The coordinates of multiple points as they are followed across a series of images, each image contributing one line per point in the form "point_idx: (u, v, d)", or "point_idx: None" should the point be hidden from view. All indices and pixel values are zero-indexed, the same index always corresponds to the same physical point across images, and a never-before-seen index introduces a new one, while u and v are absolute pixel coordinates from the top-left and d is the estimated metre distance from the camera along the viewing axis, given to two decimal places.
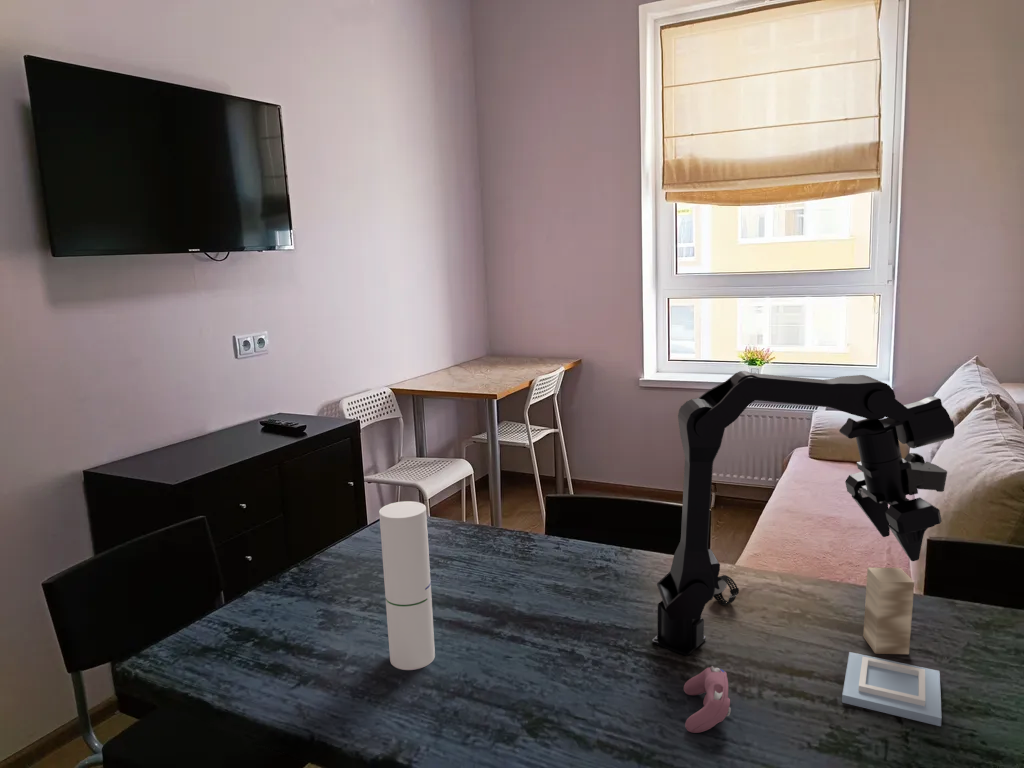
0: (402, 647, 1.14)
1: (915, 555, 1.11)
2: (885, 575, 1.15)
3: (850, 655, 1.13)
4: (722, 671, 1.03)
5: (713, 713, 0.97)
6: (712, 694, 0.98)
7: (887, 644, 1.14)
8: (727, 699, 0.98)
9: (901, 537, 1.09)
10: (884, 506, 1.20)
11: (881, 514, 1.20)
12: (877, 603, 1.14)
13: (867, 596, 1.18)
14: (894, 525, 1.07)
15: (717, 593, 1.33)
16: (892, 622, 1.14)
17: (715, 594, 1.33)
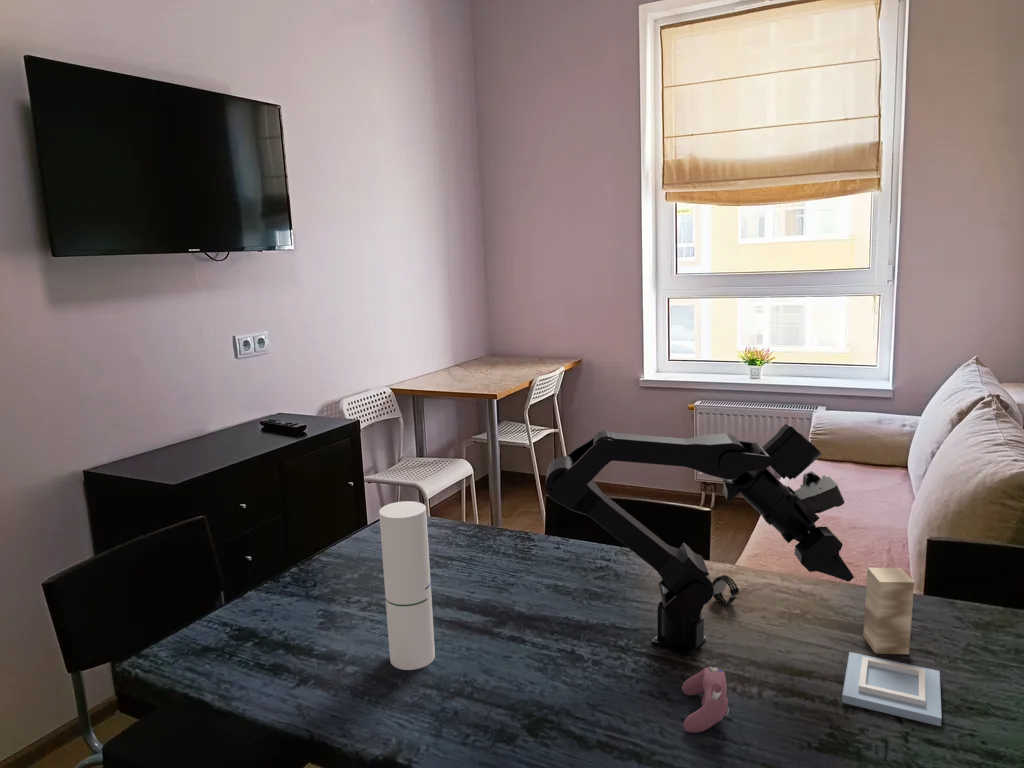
0: (402, 647, 1.14)
1: (848, 575, 1.10)
2: (885, 575, 1.15)
3: (850, 655, 1.13)
4: (720, 671, 1.03)
5: (711, 713, 0.97)
6: (710, 694, 0.98)
7: (887, 644, 1.14)
8: (725, 699, 0.98)
9: (821, 569, 1.09)
10: None
11: None
12: (877, 603, 1.14)
13: (867, 596, 1.18)
14: None
15: (717, 593, 1.33)
16: (892, 622, 1.14)
17: (715, 594, 1.33)
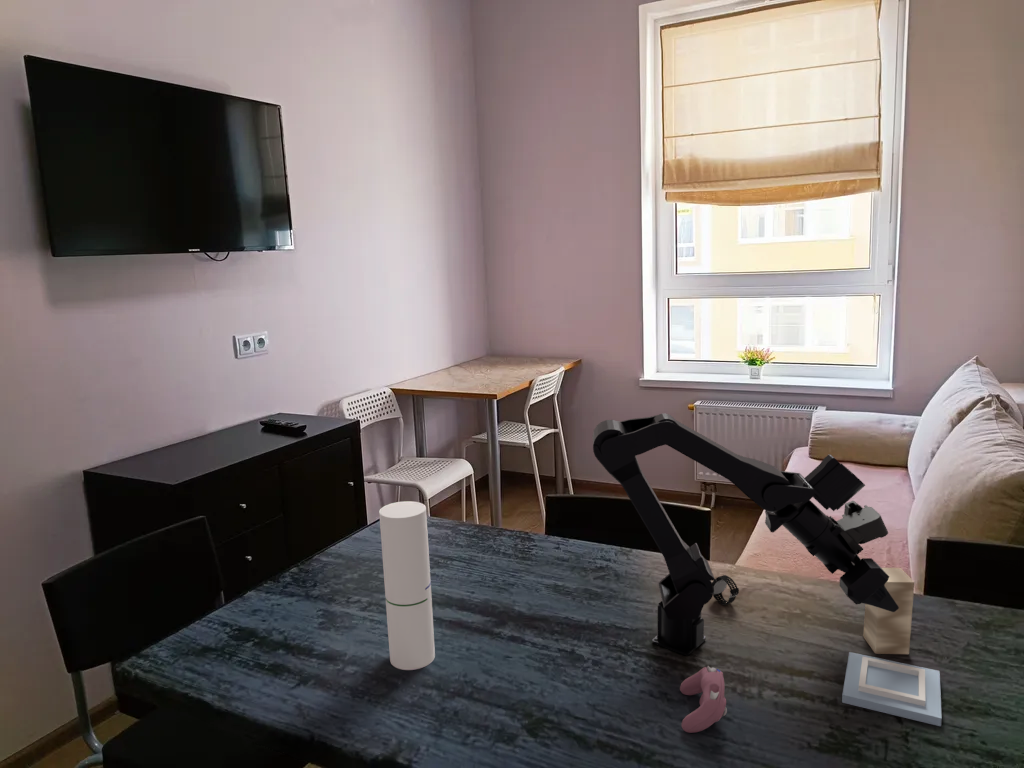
0: (402, 647, 1.14)
1: (893, 606, 1.10)
2: None
3: (850, 655, 1.13)
4: (718, 671, 1.03)
5: (709, 713, 0.97)
6: (708, 694, 0.98)
7: (887, 644, 1.14)
8: (723, 699, 0.98)
9: (866, 601, 1.09)
10: None
11: None
12: None
13: None
14: None
15: (717, 593, 1.33)
16: (892, 622, 1.14)
17: (715, 594, 1.33)
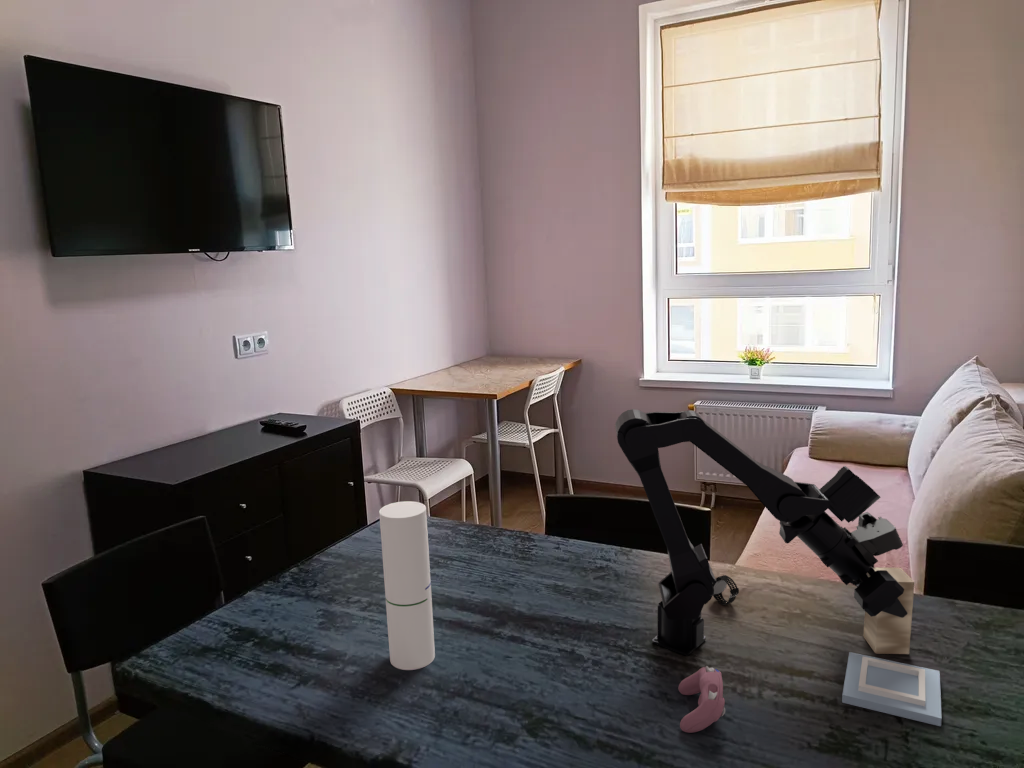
0: (402, 647, 1.14)
1: (901, 611, 1.13)
2: None
3: (850, 655, 1.13)
4: (717, 671, 1.03)
5: (707, 713, 0.97)
6: (707, 694, 0.98)
7: (887, 644, 1.14)
8: (722, 699, 0.98)
9: None
10: None
11: None
12: None
13: None
14: None
15: (717, 593, 1.33)
16: (892, 622, 1.14)
17: (715, 594, 1.33)
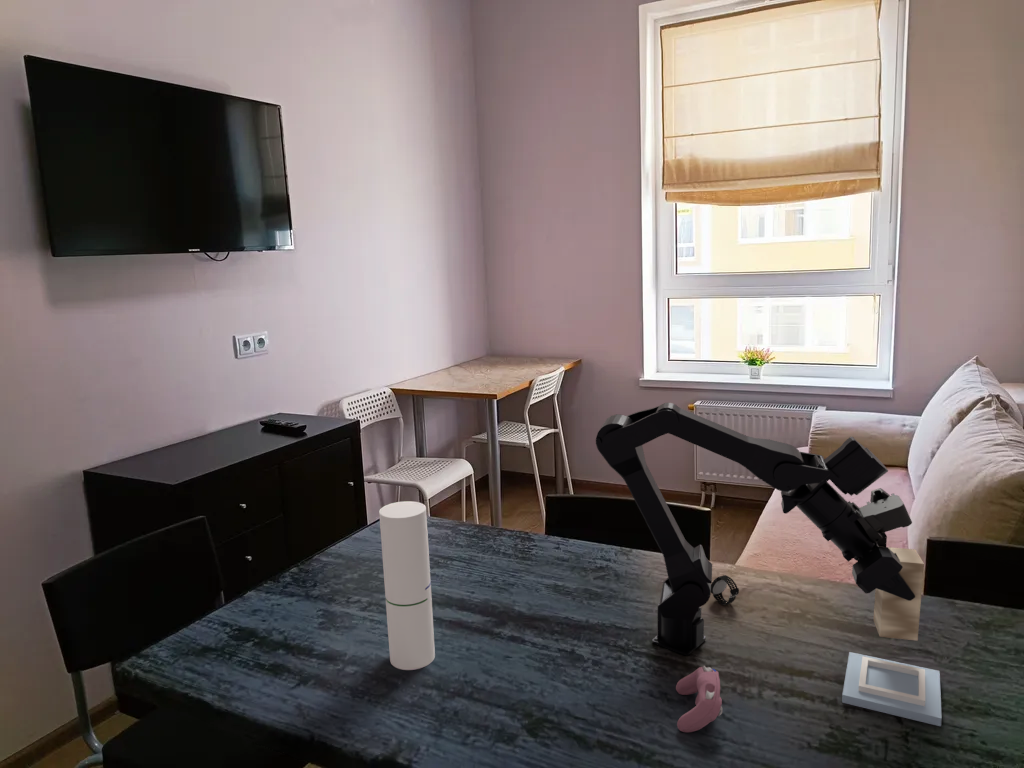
0: (402, 647, 1.14)
1: (908, 594, 1.06)
2: None
3: (850, 655, 1.13)
4: (714, 671, 1.03)
5: (705, 713, 0.97)
6: (704, 693, 0.98)
7: (893, 628, 1.08)
8: (719, 698, 0.98)
9: None
10: None
11: None
12: None
13: None
14: None
15: (717, 593, 1.33)
16: (899, 604, 1.07)
17: (715, 594, 1.33)
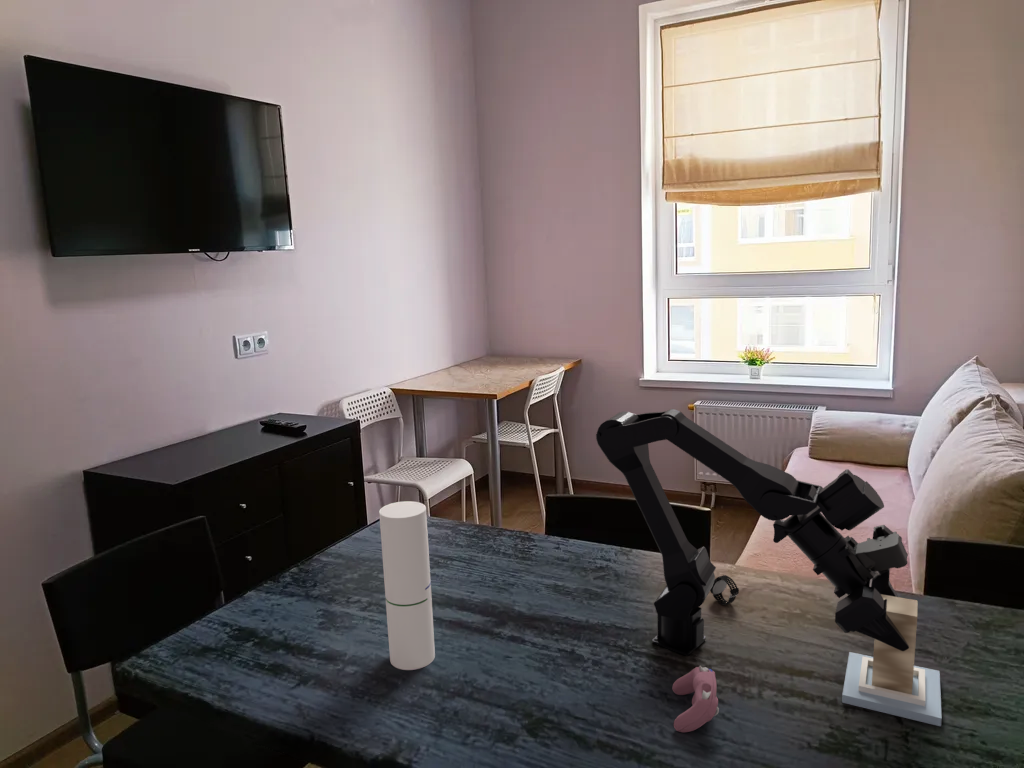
0: (402, 647, 1.14)
1: (900, 644, 0.99)
2: (889, 604, 1.03)
3: (850, 655, 1.13)
4: (710, 670, 1.03)
5: (701, 713, 0.97)
6: (700, 693, 0.99)
7: (885, 680, 1.03)
8: (715, 698, 0.98)
9: (865, 631, 1.00)
10: (887, 589, 1.08)
11: None
12: None
13: None
14: None
15: (717, 593, 1.33)
16: (891, 656, 1.02)
17: (715, 594, 1.33)
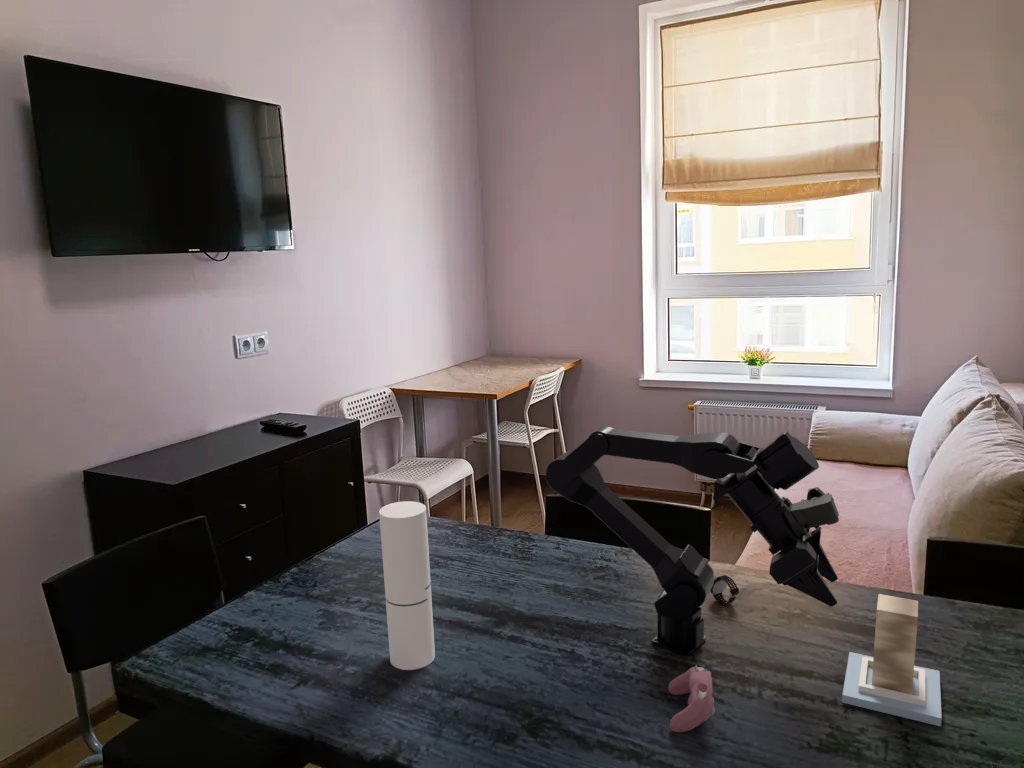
0: (402, 647, 1.14)
1: (829, 599, 1.03)
2: (890, 605, 1.03)
3: (850, 655, 1.13)
4: (706, 670, 1.03)
5: (697, 713, 0.97)
6: (696, 693, 0.99)
7: (885, 680, 1.03)
8: (711, 698, 0.98)
9: (797, 586, 1.03)
10: (818, 549, 1.12)
11: (818, 559, 1.12)
12: (875, 632, 1.03)
13: None
14: None
15: (717, 593, 1.33)
16: (891, 656, 1.02)
17: (715, 594, 1.33)
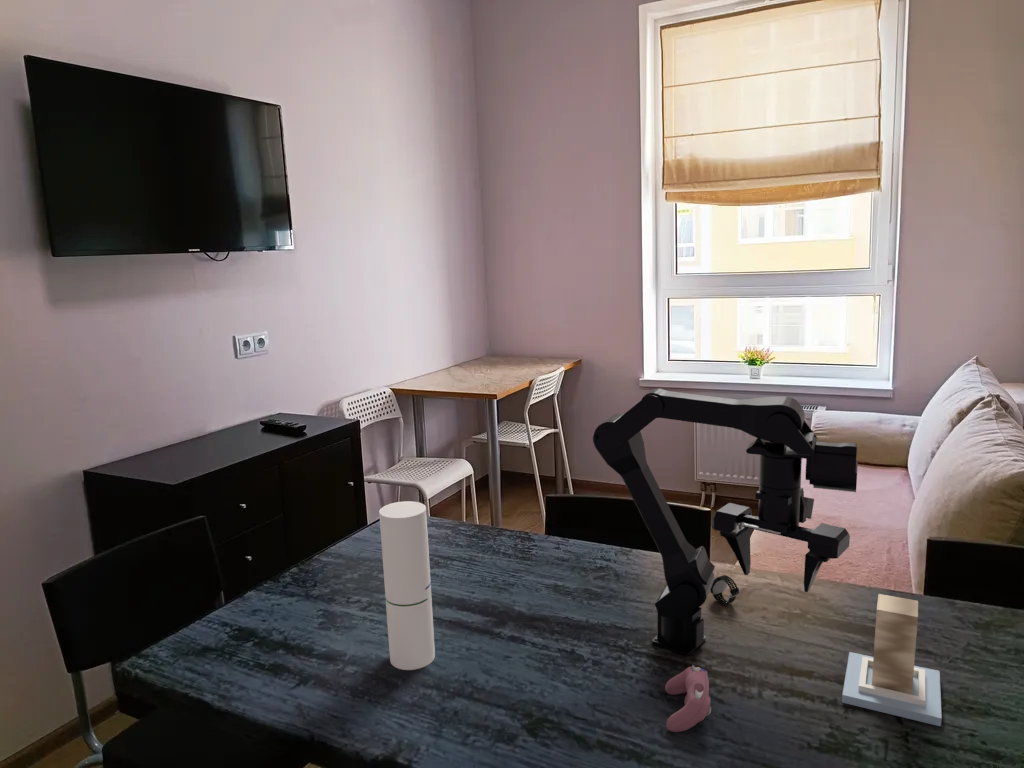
0: (402, 647, 1.14)
1: (811, 585, 1.08)
2: (890, 605, 1.03)
3: (850, 655, 1.13)
4: (703, 670, 1.03)
5: (693, 712, 0.97)
6: (693, 693, 0.99)
7: (885, 680, 1.03)
8: (707, 698, 0.98)
9: None
10: (747, 541, 1.14)
11: (747, 550, 1.14)
12: (875, 632, 1.03)
13: None
14: (824, 552, 1.03)
15: (717, 593, 1.33)
16: (891, 656, 1.02)
17: (715, 594, 1.33)
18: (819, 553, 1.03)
